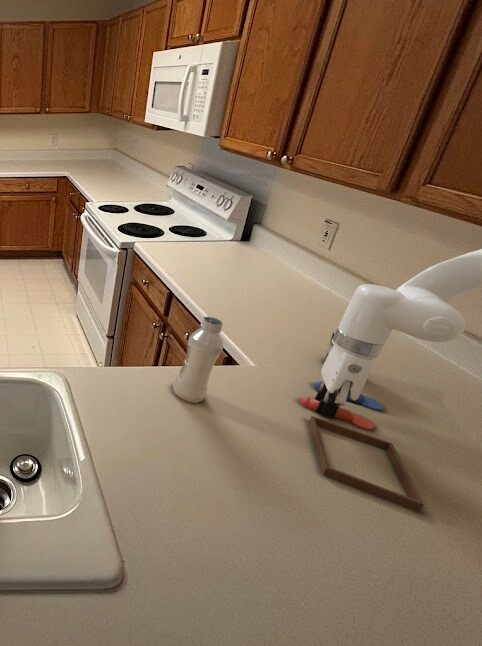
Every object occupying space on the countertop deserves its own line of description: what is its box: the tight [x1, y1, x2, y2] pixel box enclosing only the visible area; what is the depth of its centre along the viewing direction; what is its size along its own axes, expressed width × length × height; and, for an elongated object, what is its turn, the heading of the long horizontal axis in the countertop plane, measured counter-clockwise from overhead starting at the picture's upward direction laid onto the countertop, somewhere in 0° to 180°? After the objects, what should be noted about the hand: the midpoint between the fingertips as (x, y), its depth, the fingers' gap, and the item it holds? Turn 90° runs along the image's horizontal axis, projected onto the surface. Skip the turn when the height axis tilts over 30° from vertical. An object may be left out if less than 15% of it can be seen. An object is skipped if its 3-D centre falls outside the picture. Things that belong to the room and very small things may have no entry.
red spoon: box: [299, 396, 375, 431], centre depth 91 cm, size 13×4×3 cm, turn 60°
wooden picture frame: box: [308, 415, 425, 512], centre depth 78 cm, size 13×16×2 cm
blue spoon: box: [313, 380, 384, 413], centre depth 97 cm, size 13×4×3 cm, turn 60°
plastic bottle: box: [172, 316, 224, 404], centre depth 90 cm, size 6×7×20 cm
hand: (322, 411), depth 92 cm, fingers closed on red spoon, 2 cm apart
